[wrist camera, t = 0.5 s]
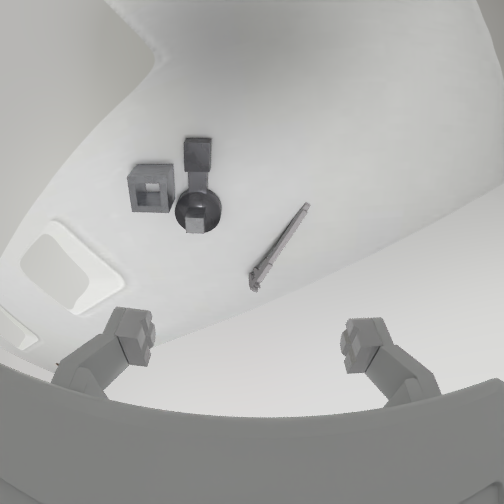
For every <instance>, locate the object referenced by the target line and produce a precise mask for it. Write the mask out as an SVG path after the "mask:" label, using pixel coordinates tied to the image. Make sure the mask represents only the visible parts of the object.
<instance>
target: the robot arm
mask: <svg viewBox="0 0 504 504" xmlns="http://www.w3.org/2000/svg"><path fill="white" fill-rule="evenodd" d="M151 319H152V315H151V312H150V311H147V310H139V309H132V308H123V307H116V308H115V309H114V311H113V313H112V315H111V317H110V319H109V321H108V323H107V325H106V327H105V330H104V332H103V334H98V335H97V336H95V337H94V338H93V339H91V340H90V341H88V342H87V343H85V344H84V345H82V346H81V347H80V348H78V349H77V350H75V351H74V352H72V353H71V354H70V355H68V356H67V357H65V358H64V359H63V360H61V361H60V363H59V366H58V368H57V370H56V372H55V374H54V377H53V379H52V381H51V383H49V382H46V381H43V380H40V379H38V378H35V377H32V376H30V375H27V374H24V373H22V372H19V371H17V370H15V369H12V368H9V367H7V366H5V365H3V364H1V363H0V504H504V382H503V381H501V380H500V379H497V378H494V379H490V380H488V381H485V382H482V383H479V384H476V385H473V386H470V387H467V388H464V389H461V390H458V391H455V392H451V393H448V394H444V395H442V394H441V392H440V389H439V387H438V384H437V382H436V380H435V377H434V375H433V373H431V372H430V371H429V370H428V369H427V368H425V367H424V366H423V365H422V364H420V363H419V362H418V361H417V360H415V359H414V358H413V357H412V356H410V355H409V354H408V353H407V352H405V351H404V350H403V349H401V348H400V347H399V346H398V345H394V344H393V341H392V339H391V337H390V334H389V332H388V330H387V327H386V325H385V323H384V321H383V319H382V318H356V319H349V320H348V321H347V323H346V328H347V329H346V330H345V331H344V332H343V333H342V336H341V342H340V346H341V352H342V354H343V355H345V356H346V358H345V360H344V363H345V367H346V370H347V373H348V374H349V373H364V372H365V374H366V375H367V376H368V377H369V378H370V380H371V381H372V382H373V383H374V384H375V385H376V386H377V387H378V389H379V390H380V391H382V393H383V394H384V395H385V396H386V397H387V398H388V400H389V401H388V402H387V404H386V405H385V406H384V407H383V408H380V409H374V410H367V411H360V412H352V413H343V414H334V415H322V416H309V417H308V416H306V417H283V418H282V417H278V418H256V417H226V416H211V415H200V414H190V413H181V412H174V411H166V410H160V409H153V408H147V407H141V406H136V405H131V404H126V403H121V402H117V401H112V400H109V399H108V397H107V396H106V394H105V393H104V391H103V390H104V389H105V388H106V387H107V386H108V385H109V384H110V383H111V382H112V381H113V380H114V379H116V378H117V377H118V375H119V374H121V373H122V372H123V371H124V370H125V369H126V368H127V367H128V366H129V364H130V365H137V366H146V367H147V366H148V363H149V359H150V356H151V353H150V350H149V349H150V348H152V347H153V345H154V342H155V327H154V324H153V323H152V322H151Z"/></svg>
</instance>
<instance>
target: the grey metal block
mask: <svg viewBox="0 0 504 504" xmlns="http://www.w3.org/2000/svg"><path fill="white" fill-rule="evenodd" d="M127 180H128V187H129V194H130V201H131V207H132V212H156V213H169V212H170V209H171V207H172V204H173V202H174V200H175V188H174V169H173V164H142V165H136V166H135V168H134V169H133V170H132V171H131V172H130V174H129V175H128V176H127ZM145 183H159V185H160V192H146V185H145Z"/></svg>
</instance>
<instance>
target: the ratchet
mask: <svg viewBox="0 0 504 504" xmlns="http://www.w3.org/2000/svg"><path fill="white" fill-rule="evenodd" d="M184 168H185V172H188V179H189V190H187V191H185V192H184V193H183V194H182V195H181V196H180V198H179V200H178V203H177V205H176V208H175V216H176V219H177V221H178V223H179V224H180V225H181V226H182V227H183V228H184V229H186V233H201V234H204V233H205V232H208V231H211V230H212V229H214V228H215V227H216V226H217V224H218V223H219V221H220V216H221V202H220V200H219V198H218V197H217V195H216V194H215V193H213V192H212V191H210V190H208V172H209V171H210V168H211V139H210V138H187V139H186V140H185V142H184Z"/></svg>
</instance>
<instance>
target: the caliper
mask: <svg viewBox="0 0 504 504" xmlns="http://www.w3.org/2000/svg"><path fill="white" fill-rule="evenodd" d="M309 207H310V204H308V203H305V204H304V206H303V207H302V208H301V209H300V210H299V212H298V213H297V214H296V216H295V217H294V219H293V220H292V222H291V223H290V225H289V226H288V228H287V230H286V231H285V233H284V234H283V236H282V237H281V239H280V240H279V242H278V243H277V245H276V246H275V248H274V249H273V250H272V252H271V253H270V255H269V256H268V258H265V260H264V261H263V263H262V264H261V266H260V269H257V268H255V267H254V269H253V270H254V274H251V273H250V274H249V286H250V290H253V291H254V292H257V291H258V288H260V285H259V284H260V283H261V282H262V281H263V279H264V278H265V276H266V275H267V273H268V272H269V270H270V269H271V267H272V266H273V265H272V264H273V263H274V261H275V260H276V258H277V257H278V255H279V254H280V253H281V251H282V250H283V248H284V247H285V245H286V244H287V242H288V241H289V239H290V238H291V236H292V235H293V233H294V232H295V231H296V229H297V228H298V226H299V225H300V223H301V222H302V220H303V219H304V217H305V216H306V214H307V210H308V209H309ZM254 275H255V277H254Z"/></svg>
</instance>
